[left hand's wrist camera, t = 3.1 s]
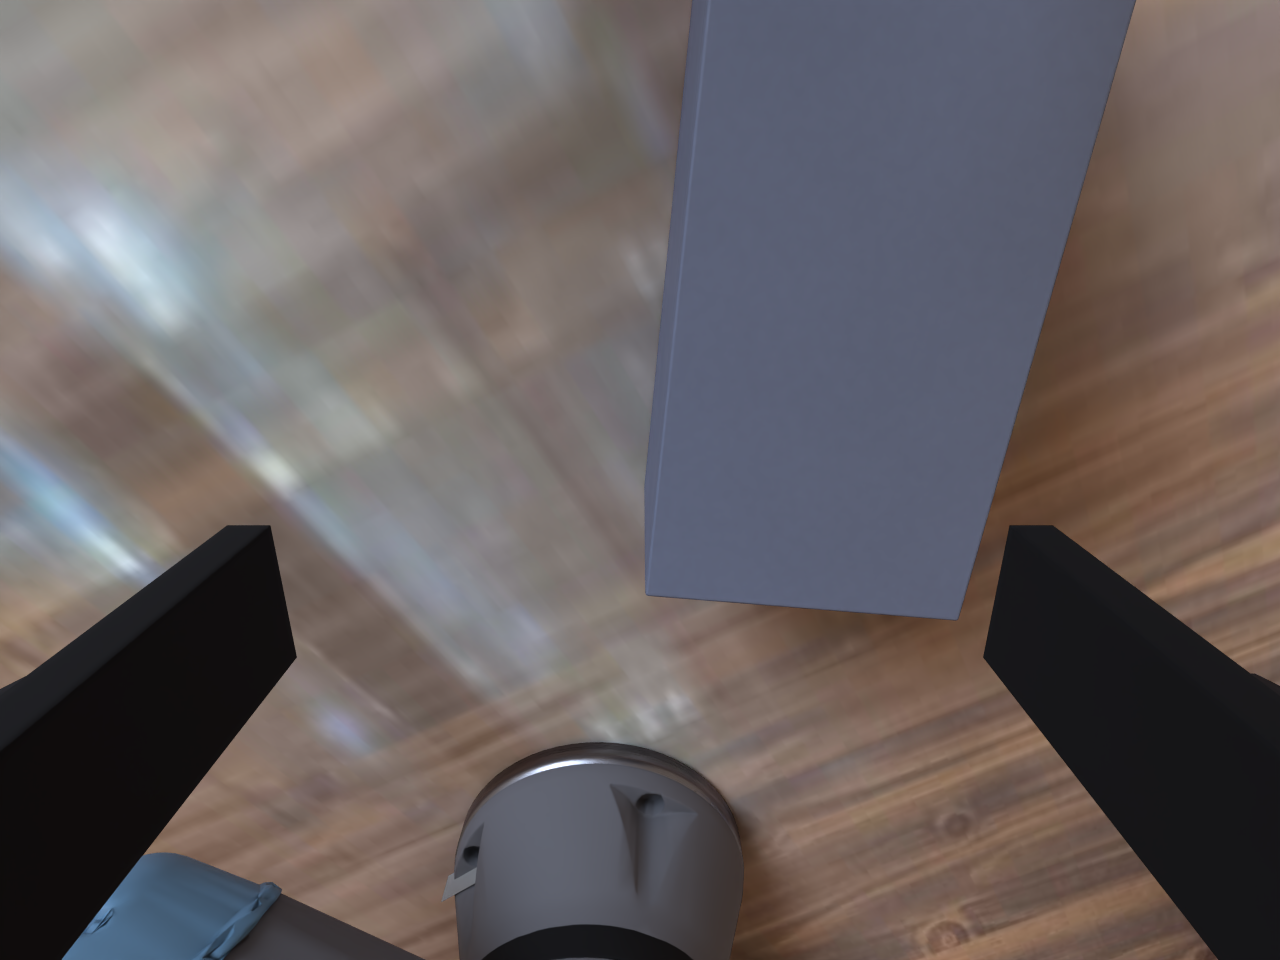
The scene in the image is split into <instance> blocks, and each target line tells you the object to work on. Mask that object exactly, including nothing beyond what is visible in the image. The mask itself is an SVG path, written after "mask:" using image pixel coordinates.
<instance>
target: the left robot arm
mask: <svg viewBox="0 0 1280 960" xmlns="http://www.w3.org/2000/svg"><path fill="white" fill-rule="evenodd" d="M296 658H297V656H296V651H295V646H294V641H293V636H292V631H291V626H290V621H289V616H288V611H287V606H286V601H285V596H284V591H283V586H282V581H281V576H280V571H279V566H278V561H277V556H276V551H275V546H274V541H273V536H272V531H271V526H270V525H227V526H226V527H225V528H223V529H222V530H221V531H219V532H218V533H217V534H215V535H214V536H213V537H211V538H210V539H209V540H207V541H206V542H205V543H203V544H202V545H201V546H199V547H198V548H197V549H195V550H194V551H192V552H191V553H190V554H188V555H187V556H186V557H184V558H183V559H182V560H180V561H179V562H178V563H176V564H175V565H174V566H172V567H171V568H170V569H168V570H167V571H166V572H164V573H163V574H162V575H160V576H159V577H158V578H156V579H155V580H154V581H152V582H151V583H150V584H148V585H147V586H146V587H144V588H143V589H142V590H140V591H139V592H138V593H136V594H135V595H134V596H132V597H131V598H130V599H128V600H127V601H126V602H124V603H123V604H122V605H120V606H119V607H118V608H116V609H115V610H114V611H112V612H111V613H110V614H108V615H107V616H106V617H104V618H103V619H102V620H100V621H99V622H98V623H96V624H95V625H94V626H92V627H91V628H90V629H88V630H87V631H86V632H84V633H83V634H82V635H80V636H79V637H78V638H76V639H75V640H74V641H72V642H71V643H70V644H68V645H67V646H66V647H64V648H63V649H62V650H60V651H59V652H58V653H56V654H55V655H54V656H52V657H51V658H50V659H48V660H47V661H46V662H44V663H43V664H42V665H40V666H39V667H38V668H36V669H35V670H34V671H32V672H31V673H30V674H28V675H27V676H25V677H23V678H21V679H19V680H17V681H15V682H13V683H11V684H9V685H7V686H5V687H3V688H1V689H0V960H425V959H423V958H420V957H418V956H416V955H414V954H412V953H409V952H407V951H405V950H403V949H401V948H399V947H396V946H394V945H392V944H390V943H388V942H386V941H383V940H381V939H379V938H377V937H375V936H373V935H370V934H368V933H366V932H364V931H362V930H359V929H357V928H355V927H353V926H351V925H349V924H346V923H344V922H342V921H340V920H338V919H336V918H333V917H331V916H329V915H327V914H325V913H323V912H320V911H318V910H316V909H314V908H312V907H309V906H307V905H305V904H303V903H301V902H299V901H296V900H294V899H292V898H290V897H288V896H286V895H283V894H281V891H282V889H281V888H279V887H278V886H277V885H275V884H274V883H273V882H265V883H262V884H260V885H259V884H256V883H254V882H251V881H249V880H246V879H244V878H241V877H238V876H236V875H233V874H231V873H228V872H226V871H223V870H221V869H218V868H215V867H213V866H210V865H208V864H205V863H203V862H200V861H198V860H195V859H192V858H190V857H187V856H183V855H179V854H175V853H153V854H147V855H143V854H144V853H145V852H146V850H147V849H148V848H149V847H150V845H151V844H152V843H153V841H154V840H155V839H156V838H157V836H158V835H159V834H160V832H161V831H162V830H163V829H164V827H165V826H166V825H167V823H168V822H169V821H170V820H171V818H172V817H173V816H174V814H175V813H176V812H177V811H178V809H179V808H180V807H181V805H182V804H183V803H184V802H185V800H186V799H187V798H188V796H189V795H190V794H191V793H192V791H193V790H194V789H195V787H196V786H197V785H198V784H199V782H200V781H201V780H202V778H203V777H204V776H205V775H206V773H207V772H208V771H209V769H210V768H211V767H212V766H213V764H214V763H215V762H216V760H217V759H218V758H219V757H220V755H221V754H222V753H223V751H224V750H225V749H226V748H227V746H228V745H229V744H230V742H231V741H232V740H233V739H234V737H235V736H236V735H237V733H238V732H239V731H240V730H241V728H242V727H243V726H244V724H245V723H246V722H247V721H248V719H249V718H250V717H251V715H252V714H253V713H254V712H255V710H256V709H257V708H258V706H259V705H260V704H261V703H262V701H263V700H264V699H265V697H266V696H267V695H268V694H269V692H270V691H271V690H272V688H273V687H274V686H275V685H276V683H277V682H278V681H279V679H280V678H281V677H282V676H283V674H284V673H285V672H286V670H287V669H288V668H289V667H290V665H291V664H292V663H293V661H294V660H295V659H296ZM983 658H984V659H985V660H986V661H987V663H988V664H989V665H990V667H991V668H992V669H993V670H994V672H995V673H996V674H997V676H998V677H999V678H1000V679H1001V681H1002V682H1003V683H1004V685H1005V686H1006V687H1007V688H1008V690H1009V691H1010V692H1011V694H1012V695H1013V696H1014V697H1015V699H1016V700H1017V701H1018V703H1019V704H1020V705H1021V706H1022V708H1023V709H1024V710H1025V712H1026V713H1027V714H1028V715H1029V717H1030V718H1031V719H1032V721H1033V722H1034V723H1035V724H1036V726H1037V727H1038V728H1039V730H1040V731H1041V732H1042V733H1043V735H1044V736H1045V737H1046V739H1047V740H1048V741H1049V742H1050V744H1051V745H1052V746H1053V748H1054V749H1055V750H1056V751H1057V753H1058V754H1059V755H1060V757H1061V758H1062V759H1063V760H1064V762H1065V763H1066V764H1067V766H1068V767H1069V768H1070V769H1071V771H1072V772H1073V773H1074V775H1075V776H1076V777H1077V778H1078V780H1079V781H1080V782H1081V784H1082V785H1083V786H1084V787H1085V789H1086V790H1087V791H1088V793H1089V794H1090V795H1091V796H1092V798H1093V799H1094V800H1095V802H1096V803H1097V804H1098V805H1099V807H1100V808H1101V809H1102V811H1103V812H1104V813H1105V814H1106V816H1107V817H1108V818H1109V820H1110V821H1111V822H1112V823H1113V825H1114V826H1115V827H1116V829H1117V830H1118V831H1119V832H1120V834H1121V835H1122V836H1123V838H1124V839H1125V840H1126V841H1127V843H1128V844H1129V845H1130V847H1131V848H1132V849H1133V850H1134V852H1135V853H1136V854H1137V856H1138V857H1139V858H1140V859H1141V861H1142V862H1143V863H1144V865H1145V866H1146V867H1147V868H1148V870H1149V871H1150V872H1151V874H1152V875H1153V876H1154V877H1155V879H1156V880H1157V881H1158V883H1159V884H1160V885H1161V886H1162V888H1163V889H1164V890H1165V892H1166V893H1167V894H1168V895H1169V897H1170V898H1171V899H1172V901H1173V902H1174V903H1175V904H1176V906H1177V907H1178V908H1179V910H1180V911H1181V912H1182V913H1183V915H1184V916H1185V917H1186V919H1187V920H1188V921H1189V922H1190V924H1191V925H1192V926H1193V928H1194V929H1195V930H1196V931H1197V933H1198V934H1199V935H1200V937H1201V938H1202V939H1203V940H1204V942H1205V943H1206V944H1207V946H1208V947H1209V948H1210V949H1211V951H1212V952H1213V953H1214V955H1215V956H1216V957H1217V958H1218V960H1280V686H1279V685H1277V684H1275V683H1273V682H1271V681H1269V680H1267V679H1265V678H1263V677H1261V676H1259V675H1257V674H1250V673H1249V672H1248V671H1246V670H1245V669H1244V668H1242V667H1241V666H1240V665H1238V664H1237V663H1236V662H1234V661H1233V660H1232V659H1230V658H1229V657H1228V656H1226V655H1225V654H1224V653H1222V652H1221V651H1220V650H1218V649H1217V648H1216V647H1214V646H1213V645H1212V644H1210V643H1209V642H1208V641H1206V640H1205V639H1204V638H1202V637H1201V636H1200V635H1198V634H1197V633H1196V632H1194V631H1193V630H1192V629H1190V628H1189V627H1188V626H1186V625H1185V624H1184V623H1182V622H1181V621H1180V620H1178V619H1177V618H1176V617H1174V616H1173V615H1172V614H1170V613H1169V612H1168V611H1166V610H1165V609H1164V608H1162V607H1161V606H1160V605H1158V604H1157V603H1156V602H1154V601H1153V600H1152V599H1150V598H1149V597H1148V596H1146V595H1145V594H1144V593H1142V592H1141V591H1140V590H1138V589H1137V588H1136V587H1134V586H1133V585H1132V584H1130V583H1129V582H1128V581H1126V580H1125V579H1124V578H1122V577H1121V576H1120V575H1118V574H1117V573H1116V572H1114V571H1113V570H1112V569H1110V568H1109V567H1108V566H1106V565H1105V564H1104V563H1102V562H1101V561H1100V560H1098V559H1097V558H1096V557H1094V556H1093V555H1092V554H1090V553H1089V552H1088V551H1086V550H1085V549H1083V548H1082V547H1081V546H1079V545H1078V544H1077V543H1075V542H1074V541H1073V540H1071V539H1070V538H1069V537H1067V536H1066V535H1065V534H1063V533H1062V532H1061V531H1059V530H1058V529H1057V528H1055V527H1054V526H1053V525H1010V526H1009V531H1008V536H1007V541H1006V546H1005V551H1004V556H1003V561H1002V566H1001V571H1000V576H999V581H998V586H997V591H996V596H995V601H994V606H993V611H992V616H991V621H990V626H989V631H988V636H987V641H986V646H985V651H984V656H983ZM743 880H744V865H743V856H742V850H741V843H740V837H739V832H738V828H737V825H736V822H735V819H734V817H733V815H732V813H731V811H730V809H729V807H728V805H727V804H726V802H725V801H724V799H723V798H722V796H721V795H720V794H719V793H718V792H717V791H716V789H715V788H714V787H713V786H712V785H711V784H710V783H709V782H708V781H706V780H705V779H704V778H703V777H702V776H700V775H699V774H698V773H696V772H695V771H694V770H692V769H690V768H689V767H687V766H686V765H684V764H682V763H680V762H678V761H676V760H674V759H672V758H670V757H668V756H665V755H663V754H660V753H658V752H655V751H651V750H648V749H645V748H640V747H636V746H631V745H625V744H618V743H603V742H595V743H578V744H570V745H564V746H559V747H555V748H551V749H547V750H544V751H541V752H538V753H536V754H533V755H530V756H528V757H526V758H524V759H522V760H520V761H518V762H516V763H514V764H513V765H511V766H509V767H508V768H506V769H505V770H503V771H502V772H501V773H499V774H498V775H497V776H496V777H494V778H493V779H492V780H491V781H490V782H489V783H488V784H487V785H486V786H485V787H484V788H483V789H482V791H481V792H480V793H479V795H478V796H477V797H476V799H475V800H474V802H473V804H472V805H471V807H470V809H469V811H468V814H467V816H466V819H465V822H464V825H463V829H462V832H461V835H460V839H459V842H458V846H457V850H456V857H455V868H454V873H453V874H451V875H449V876H448V879H447V883H446V887H445V890H444V894H443V897H442V901H444V900H446V899H448V898H449V897H451V896H453V895H455V904H456V917H457V930H458V944H459V957H460V960H729V959H730V954H731V950H732V945H733V940H734V935H735V930H736V925H737V920H738V916H739V911H740V906H741V901H742V895H743ZM442 901H441V902H442Z"/></svg>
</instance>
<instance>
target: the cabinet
mask: <svg viewBox="0 0 1280 960" xmlns="http://www.w3.org/2000/svg"><path fill="white" fill-rule="evenodd" d="M1135 2H1136V0H692V9H691V19H690V29H689V39H688V50H687V60H686V70H685V80H684V90H683V100H682V111H681V121H680V131H679V141H678V151H677V161H676V172H675V182H674V192H673V202H672V212H671V222H670V233H669V243H668V253H667V263H666V273H665V283H664V294H663V304H662V314H661V324H660V334H659V344H658V355H657V365H656V375H655V385H654V395H653V405H652V416H651V426H650V436H649V446H648V456H647V466H646V476H645V487H644V492H645V593H646V595H648V596H657V597H670V598H682V599H695V600H707V601H720V602H732V603H745V604H757V605H769V606H782V607H794V608H807V609H819V610H832V611H844V612H857V613H869V614H882V615H894V616H907V617H919V618H932V619H944V620H958V618H959V615H960V611H961V608H962V604H963V601H964V597H965V594H966V591H967V587H968V584H969V580H970V577H971V573H972V570H973V566H974V563H975V559H976V556H977V552H978V549H979V545H980V542H981V538H982V535H983V531H984V528H985V524H986V521H987V517H988V514H989V510H990V507H991V503H992V500H993V496H994V493H995V490H996V486H997V483H998V479H999V476H1000V472H1001V469H1002V465H1003V462H1004V458H1005V455H1006V451H1007V448H1008V444H1009V441H1010V437H1011V434H1012V430H1013V427H1014V423H1015V420H1016V416H1017V413H1018V409H1019V406H1020V402H1021V399H1022V395H1023V392H1024V389H1025V385H1026V382H1027V378H1028V375H1029V371H1030V368H1031V364H1032V361H1033V357H1034V354H1035V350H1036V347H1037V343H1038V340H1039V336H1040V333H1041V329H1042V326H1043V322H1044V319H1045V315H1046V312H1047V308H1048V305H1049V301H1050V298H1051V294H1052V291H1053V288H1054V284H1055V281H1056V277H1057V274H1058V270H1059V267H1060V263H1061V260H1062V256H1063V253H1064V249H1065V246H1066V242H1067V239H1068V235H1069V232H1070V228H1071V225H1072V221H1073V218H1074V214H1075V211H1076V207H1077V204H1078V200H1079V197H1080V193H1081V190H1082V187H1083V183H1084V180H1085V176H1086V173H1087V169H1088V166H1089V162H1090V159H1091V155H1092V152H1093V148H1094V145H1095V141H1096V138H1097V134H1098V131H1099V127H1100V124H1101V120H1102V117H1103V113H1104V110H1105V106H1106V103H1107V99H1108V96H1109V92H1110V89H1111V86H1112V82H1113V79H1114V75H1115V72H1116V68H1117V65H1118V61H1119V58H1120V54H1121V51H1122V47H1123V44H1124V40H1125V37H1126V33H1127V30H1128V26H1129V23H1130V19H1131V16H1132V12H1133V9H1134V5H1135Z"/></svg>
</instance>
